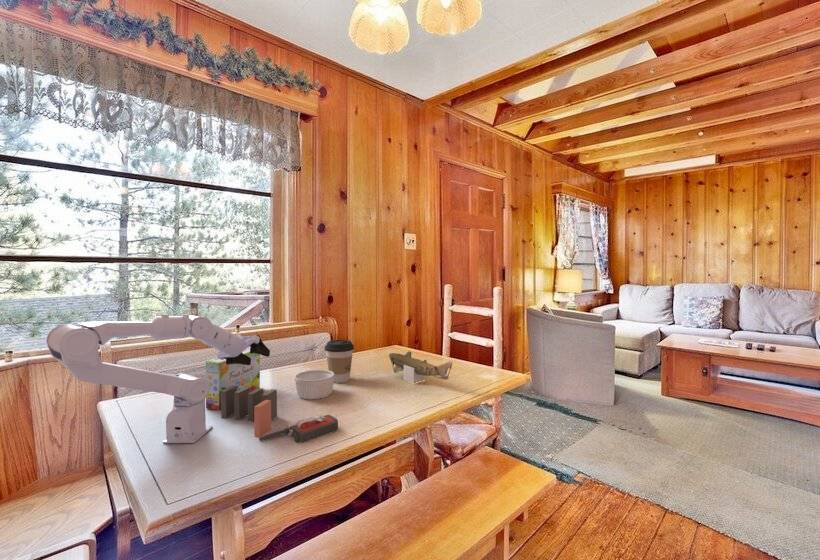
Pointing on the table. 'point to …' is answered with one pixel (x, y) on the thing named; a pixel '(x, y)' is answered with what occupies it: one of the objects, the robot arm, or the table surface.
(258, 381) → the snack box
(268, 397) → the domino
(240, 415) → the domino
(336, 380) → the coffee cup
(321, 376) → the ramekin
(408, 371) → the wood carving
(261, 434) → the red domino
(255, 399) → the domino
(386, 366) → the table surface
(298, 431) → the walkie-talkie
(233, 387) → the domino
